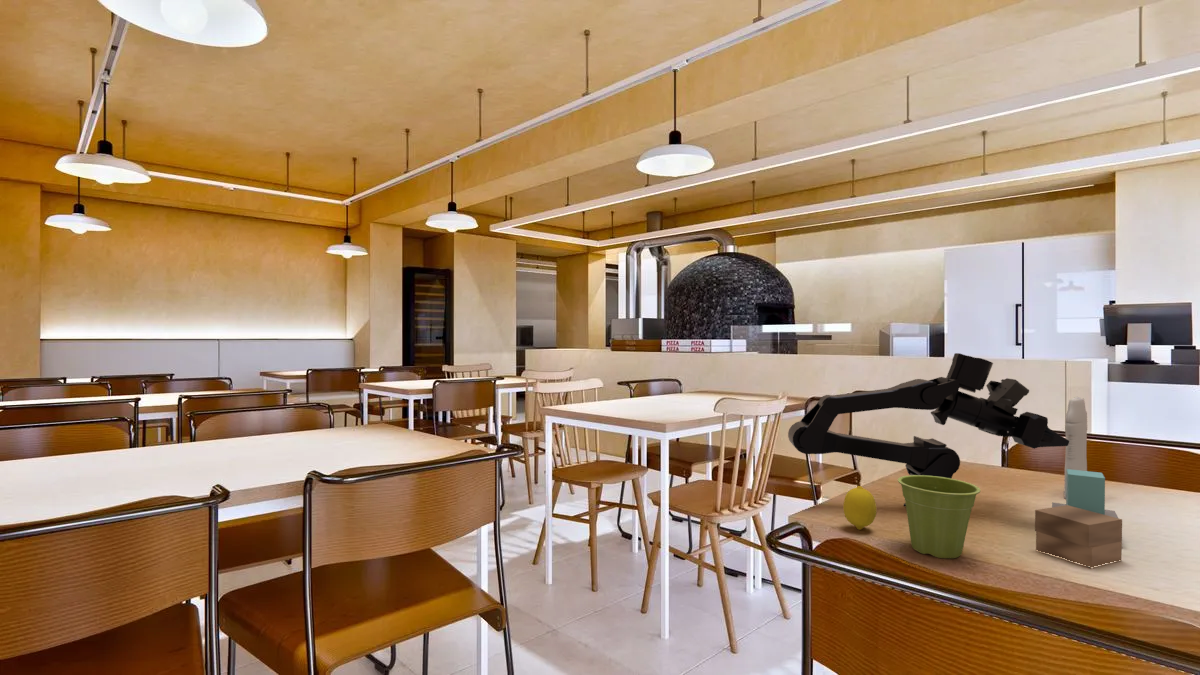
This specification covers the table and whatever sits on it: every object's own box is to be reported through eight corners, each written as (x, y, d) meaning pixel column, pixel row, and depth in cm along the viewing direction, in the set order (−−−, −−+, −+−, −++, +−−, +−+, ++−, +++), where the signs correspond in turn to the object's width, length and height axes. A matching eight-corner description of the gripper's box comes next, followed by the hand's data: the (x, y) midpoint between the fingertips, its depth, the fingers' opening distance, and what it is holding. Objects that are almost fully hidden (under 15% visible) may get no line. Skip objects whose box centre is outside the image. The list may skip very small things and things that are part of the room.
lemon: (874, 526, 110) (874, 483, 110) (877, 536, 105) (878, 491, 105) (842, 523, 112) (842, 481, 112) (844, 532, 107) (844, 488, 107)
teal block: (1067, 513, 106) (1068, 474, 106) (1066, 506, 110) (1066, 468, 110) (1104, 518, 103) (1105, 478, 103) (1101, 511, 107) (1101, 472, 107)
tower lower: (1035, 552, 98) (1036, 531, 98) (1065, 545, 102) (1065, 525, 102) (1091, 570, 91) (1092, 547, 91) (1121, 562, 94) (1121, 540, 94)
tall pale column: (1071, 490, 136) (1072, 394, 136) (1094, 494, 133) (1095, 396, 133) (1056, 498, 130) (1057, 397, 130) (1079, 502, 126) (1080, 399, 126)
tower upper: (1034, 530, 99) (1035, 509, 99) (1067, 525, 101) (1067, 505, 101) (1088, 547, 91) (1089, 524, 91) (1121, 541, 94) (1122, 519, 94)
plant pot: (946, 570, 90) (947, 496, 90) (881, 544, 101) (881, 478, 101) (996, 558, 95) (997, 488, 95) (929, 535, 106) (930, 472, 106)
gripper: (1012, 376, 109) (1101, 406, 107) (966, 370, 128) (1041, 395, 126) (990, 433, 110) (1078, 464, 108) (947, 418, 129) (1021, 444, 126)
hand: (1053, 439), depth 117 cm, fingers open, 9 cm apart
